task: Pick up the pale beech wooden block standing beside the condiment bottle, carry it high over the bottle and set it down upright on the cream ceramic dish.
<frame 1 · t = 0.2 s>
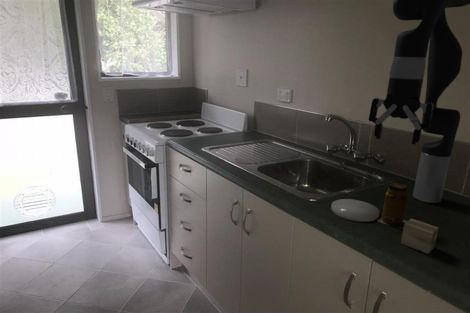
hand: (395, 141, 89), 28 cm above the worktop, fingers open, 8 cm apart
condiment: (394, 223, 107), on the worktop
dish: (354, 211, 114), on the worktop
block: (417, 245, 94), on the worktop
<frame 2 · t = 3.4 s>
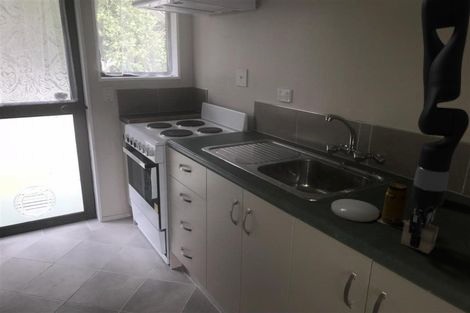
hand: (417, 242, 94), 1 cm above the worktop, fingers closed on block, 5 cm apart
block: (417, 245, 94), on the worktop, touching gripper
everything else where it was.
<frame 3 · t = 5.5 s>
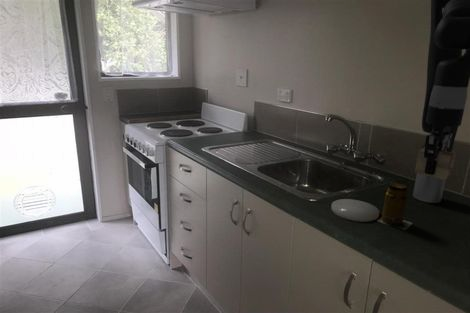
hand: (433, 171, 88), 21 cm above the worktop, fingers closed on block, 5 cm apart
block: (432, 174, 88), point 20 cm above the worktop, touching gripper
everything else where it was.
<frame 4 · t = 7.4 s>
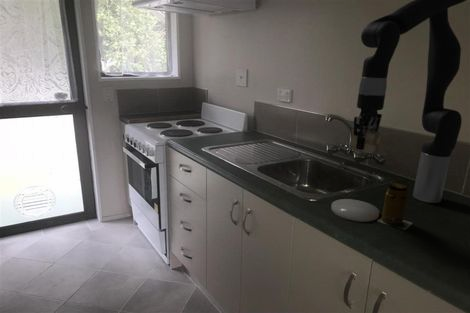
hand: (363, 147, 108), 22 cm above the worktop, fingers closed on block, 5 cm apart
block: (363, 149, 108), point 21 cm above the worktop, touching gripper
everything else where it was.
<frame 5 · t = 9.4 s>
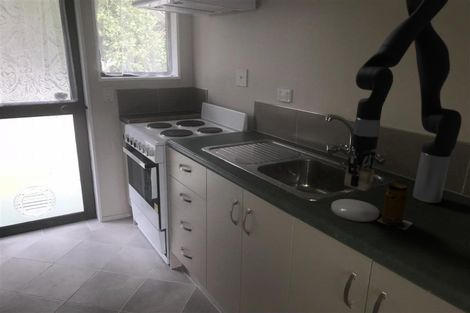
hand: (358, 184, 111), 10 cm above the worktop, fingers closed on block, 5 cm apart
block: (357, 186, 111), point 9 cm above the worktop, touching gripper
everything else where it was.
when the fingers open (3 cm above the worktop, at t = 11.2 s): block stays where it is, resting on dish.
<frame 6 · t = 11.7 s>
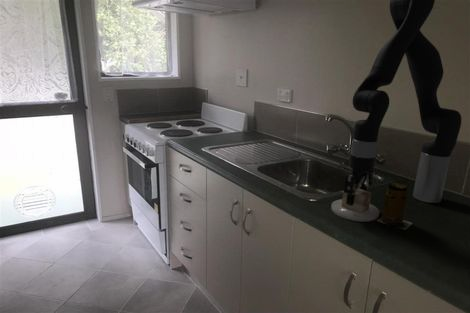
hand: (356, 201, 113), 4 cm above the worktop, fingers open, 8 cm apart
block: (355, 208, 113), point 1 cm above the worktop, touching dish
everything else where it was.
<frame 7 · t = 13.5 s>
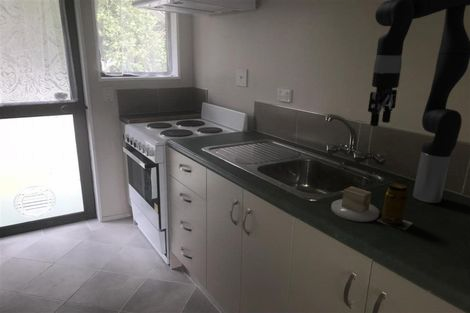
hand: (379, 124, 109), 29 cm above the worktop, fingers open, 8 cm apart
nothing on the worktop moved.
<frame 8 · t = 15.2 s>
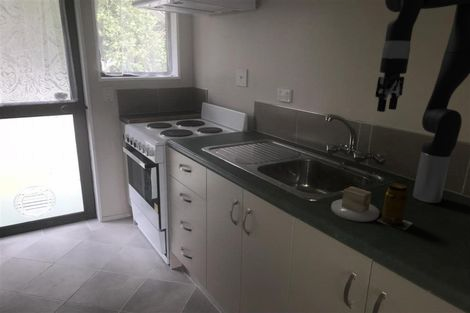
hand: (386, 110, 109), 33 cm above the worktop, fingers open, 8 cm apart
nothing on the worktop moved.
at the end: block inside the target area on the dish (0.0 cm from its centre), point 1.2 cm above the dish's base; block tilted 0°; the gripper is holding nothing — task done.
